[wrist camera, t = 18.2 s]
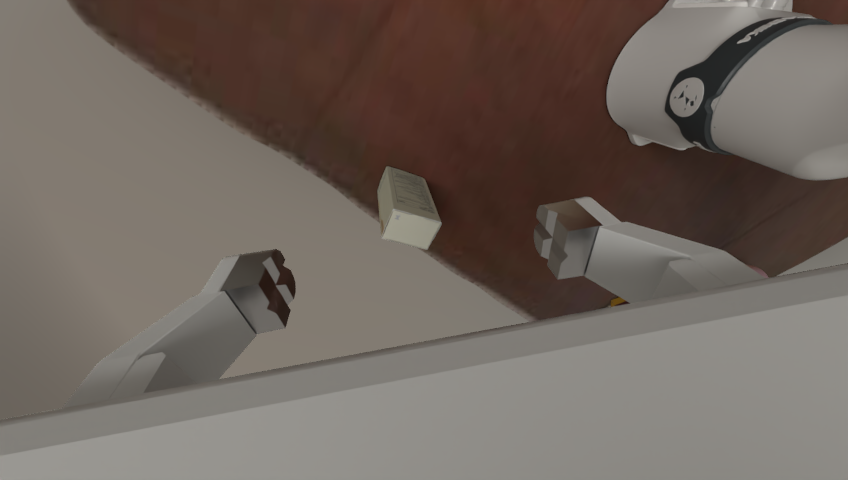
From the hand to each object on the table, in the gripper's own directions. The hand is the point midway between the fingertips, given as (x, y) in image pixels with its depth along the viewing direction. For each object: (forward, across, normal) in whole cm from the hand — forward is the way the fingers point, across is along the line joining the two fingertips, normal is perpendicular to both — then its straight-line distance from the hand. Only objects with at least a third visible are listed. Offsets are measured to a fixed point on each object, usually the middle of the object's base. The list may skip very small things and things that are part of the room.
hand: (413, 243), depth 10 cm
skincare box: (+33, 0, +14) cm, 36 cm away
